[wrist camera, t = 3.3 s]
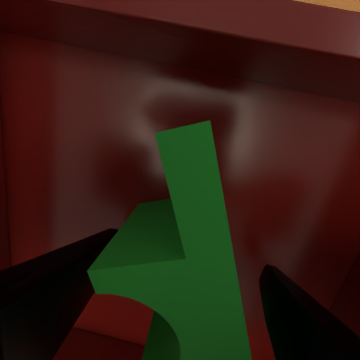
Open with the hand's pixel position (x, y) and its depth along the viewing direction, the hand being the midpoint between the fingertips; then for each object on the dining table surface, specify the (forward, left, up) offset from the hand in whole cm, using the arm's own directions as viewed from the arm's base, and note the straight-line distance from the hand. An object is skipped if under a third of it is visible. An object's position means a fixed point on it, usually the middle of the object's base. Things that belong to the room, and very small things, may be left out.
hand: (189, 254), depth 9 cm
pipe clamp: (0, 0, -1) cm, 1 cm away
